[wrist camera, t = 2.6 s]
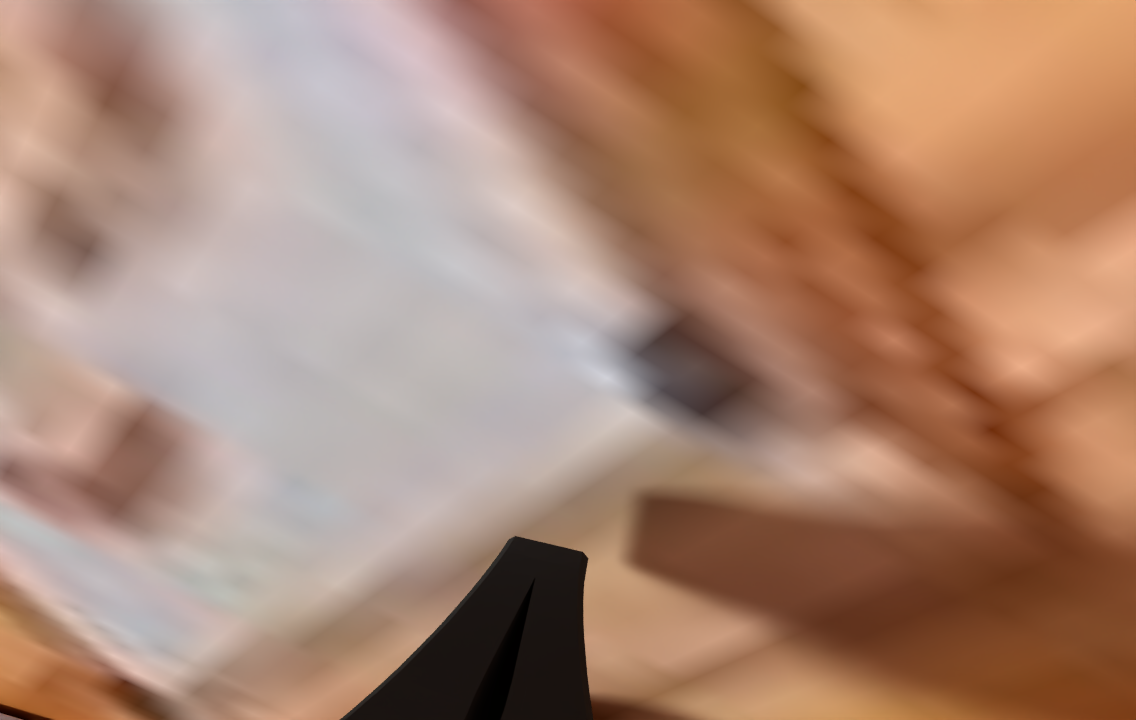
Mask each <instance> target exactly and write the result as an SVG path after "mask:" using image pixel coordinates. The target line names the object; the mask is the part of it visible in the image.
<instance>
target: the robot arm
mask: <svg viewBox="0 0 1136 720" xmlns="http://www.w3.org/2000/svg"><path fill="white" fill-rule="evenodd" d="M587 563H588V558H587V556H586V555H585V554H584V553H583V552H581V551H577V550H572V549H568V548H564V547H560V546H555V545H551V544H547V543H543V542H538V541H534V540H530V539H525V538H521V537H517V536H515V537H513V538H511V539H509V540H508V541H507V543H506V545H505V546H504V548H503V549H502V551H501V552H500V553H499V555H498V556H497V558H496V559H495V560H494V562H493V563H492V564H491V566H490V567H489V568H488V570H487V571H486V572H485V574H484V575H483V576H482V577H481V579H480V580H479V581H478V582H477V583H476V585H475V586H474V587H473V588H472V590H471V591H470V592H469V593H468V594H467V596H466V597H465V598H464V599H463V600H462V601H461V602H460V604H459V605H458V606H457V607H456V608H455V609H454V610H453V611H452V613H451V614H450V615H449V616H448V617H447V618H446V619H445V621H444V622H443V623H442V624H441V625H440V626H439V627H438V628H437V629H436V630H435V631H434V632H433V633H432V634H431V635H430V637H429V638H428V639H427V640H426V641H425V642H424V643H423V644H422V645H421V646H420V647H419V648H418V649H417V650H416V651H415V652H414V653H413V654H412V655H411V656H410V657H409V658H408V659H407V660H406V661H405V662H404V663H403V664H402V665H401V666H400V667H399V668H398V669H397V670H396V671H394V672H393V673H392V674H391V675H390V676H389V677H388V678H387V679H386V680H385V681H384V682H383V683H382V684H381V685H379V686H378V687H377V688H376V689H375V690H374V691H373V692H372V693H371V694H369V695H368V696H367V697H366V698H365V699H364V700H363V701H361V702H360V703H359V704H358V705H357V706H356V707H354V708H353V709H352V710H351V711H350V712H349V713H347V714H346V715H345V716H344V717H343V718H341V719H340V720H593V714H592V707H591V701H590V694H589V685H588V677H587V667H586V655H585V643H584V625H583V593H584V580H585V574H586V568H587ZM0 720H22V719H19V718H16V717H12V716H9V715H6V714H2V713H0Z"/></svg>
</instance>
